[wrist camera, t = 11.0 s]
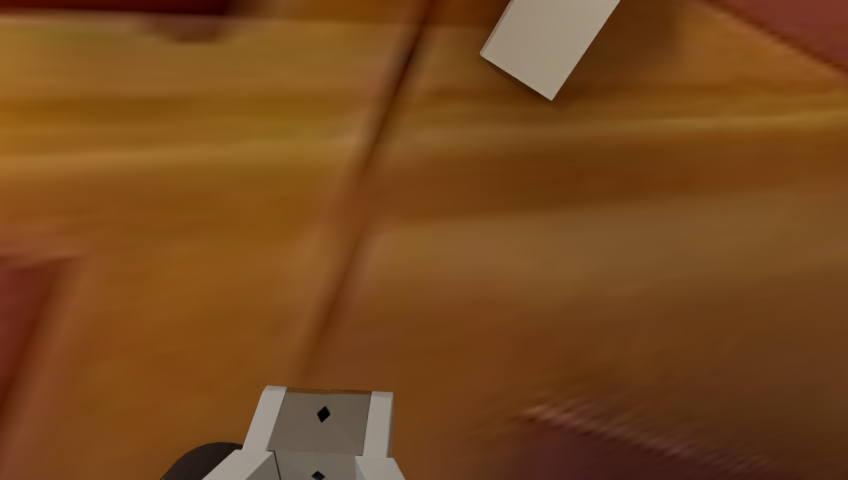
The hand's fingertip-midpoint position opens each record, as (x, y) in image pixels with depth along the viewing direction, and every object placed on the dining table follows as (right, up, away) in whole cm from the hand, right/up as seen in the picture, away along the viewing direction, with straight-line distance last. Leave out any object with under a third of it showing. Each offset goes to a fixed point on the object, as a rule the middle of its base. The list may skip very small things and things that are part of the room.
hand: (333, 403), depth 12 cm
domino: (+8, +14, +18) cm, 24 cm away
